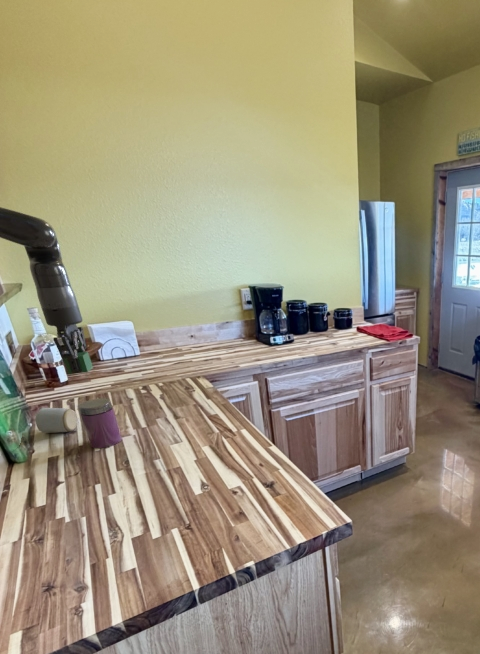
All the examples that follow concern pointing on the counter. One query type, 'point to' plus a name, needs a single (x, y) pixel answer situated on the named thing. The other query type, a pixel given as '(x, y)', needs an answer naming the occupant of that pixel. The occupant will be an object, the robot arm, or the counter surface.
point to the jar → (102, 429)
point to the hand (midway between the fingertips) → (80, 369)
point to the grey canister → (56, 420)
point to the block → (81, 362)
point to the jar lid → (95, 406)
